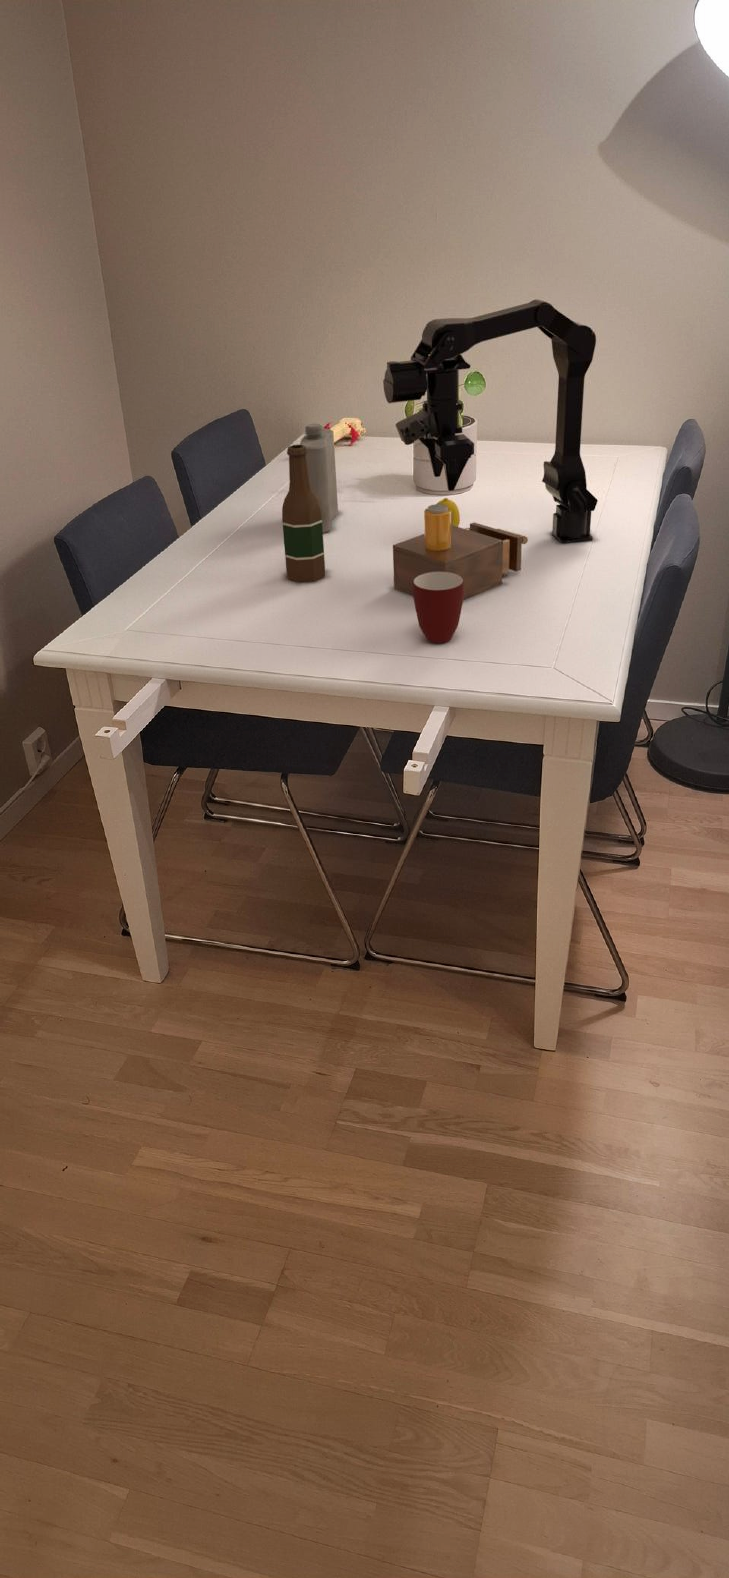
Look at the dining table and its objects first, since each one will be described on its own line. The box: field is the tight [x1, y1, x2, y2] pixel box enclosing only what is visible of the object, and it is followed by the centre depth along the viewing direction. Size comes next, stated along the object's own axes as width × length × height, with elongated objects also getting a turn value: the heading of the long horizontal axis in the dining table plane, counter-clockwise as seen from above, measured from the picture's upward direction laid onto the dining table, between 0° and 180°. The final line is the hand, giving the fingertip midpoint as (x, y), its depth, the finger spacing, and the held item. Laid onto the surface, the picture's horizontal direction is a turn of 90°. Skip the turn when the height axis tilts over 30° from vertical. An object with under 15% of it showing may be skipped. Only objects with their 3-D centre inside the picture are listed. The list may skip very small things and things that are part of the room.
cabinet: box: [392, 525, 503, 601], centre depth 196 cm, size 15×13×8 cm
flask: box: [299, 423, 339, 534], centre depth 226 cm, size 15×6×20 cm, turn 173°
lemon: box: [436, 497, 461, 527], centre depth 218 cm, size 6×6×8 cm
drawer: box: [464, 521, 529, 575], centre depth 200 cm, size 18×12×6 cm, turn 132°
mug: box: [412, 572, 464, 644], centre depth 177 cm, size 10×8×10 cm
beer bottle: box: [281, 444, 326, 583], centre depth 199 cm, size 8×8×24 cm
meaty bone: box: [323, 417, 367, 446], centre depth 279 cm, size 10×9×25 cm
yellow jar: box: [423, 503, 451, 551], centre depth 190 cm, size 5×5×7 cm
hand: (443, 483), depth 204 cm, fingers open, 9 cm apart
